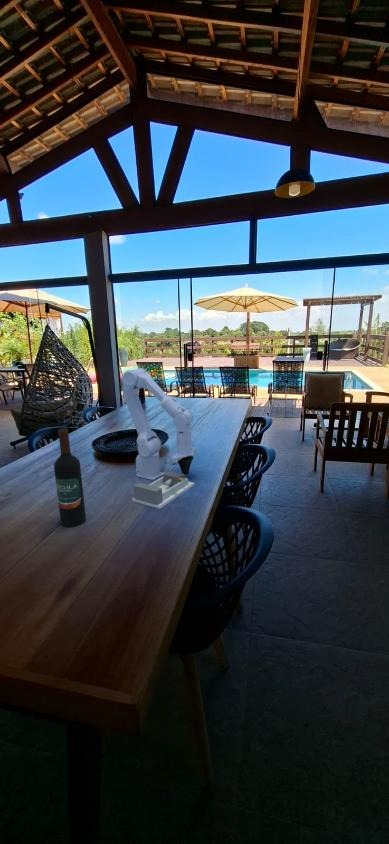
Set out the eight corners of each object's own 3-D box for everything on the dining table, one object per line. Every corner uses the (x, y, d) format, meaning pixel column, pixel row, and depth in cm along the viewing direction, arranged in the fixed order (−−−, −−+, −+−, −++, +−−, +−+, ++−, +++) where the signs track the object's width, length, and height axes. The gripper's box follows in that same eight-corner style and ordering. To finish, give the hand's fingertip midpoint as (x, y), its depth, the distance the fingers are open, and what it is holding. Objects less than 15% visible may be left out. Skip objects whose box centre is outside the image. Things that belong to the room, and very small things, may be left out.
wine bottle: (90, 517, 118) (81, 427, 111) (76, 528, 111) (65, 433, 104) (71, 514, 120) (60, 425, 113) (55, 525, 113) (43, 432, 106)
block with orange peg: (158, 486, 137) (158, 476, 136) (169, 480, 143) (169, 470, 142) (179, 492, 132) (179, 481, 131) (190, 485, 138) (189, 475, 137)
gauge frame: (132, 501, 129) (131, 485, 127) (169, 479, 147) (168, 465, 145) (159, 508, 122) (158, 492, 121) (194, 485, 140) (194, 470, 139)
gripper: (182, 447, 134) (183, 482, 137) (202, 438, 146) (203, 470, 149) (166, 445, 138) (168, 479, 141) (187, 435, 150) (188, 467, 153)
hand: (185, 474), depth 145 cm, fingers closed
